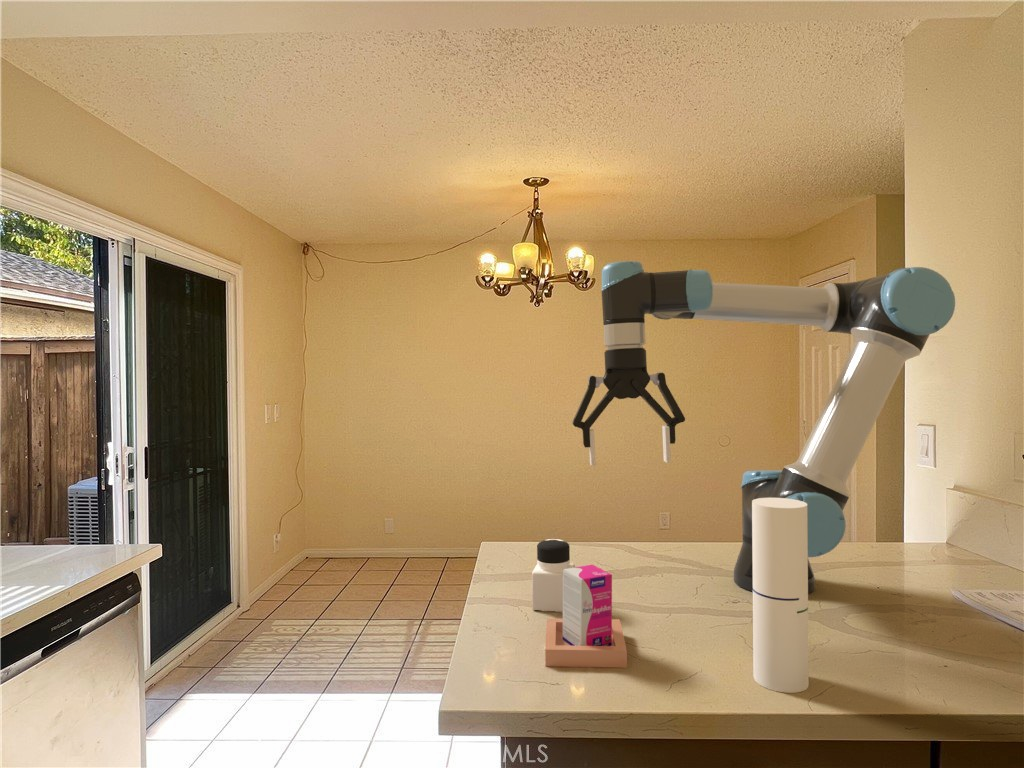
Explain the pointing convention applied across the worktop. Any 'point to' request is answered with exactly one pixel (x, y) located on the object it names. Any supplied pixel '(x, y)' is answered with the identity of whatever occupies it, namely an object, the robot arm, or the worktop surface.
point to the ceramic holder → (584, 649)
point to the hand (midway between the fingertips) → (629, 463)
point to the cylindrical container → (780, 594)
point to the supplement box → (587, 606)
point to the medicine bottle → (550, 575)
